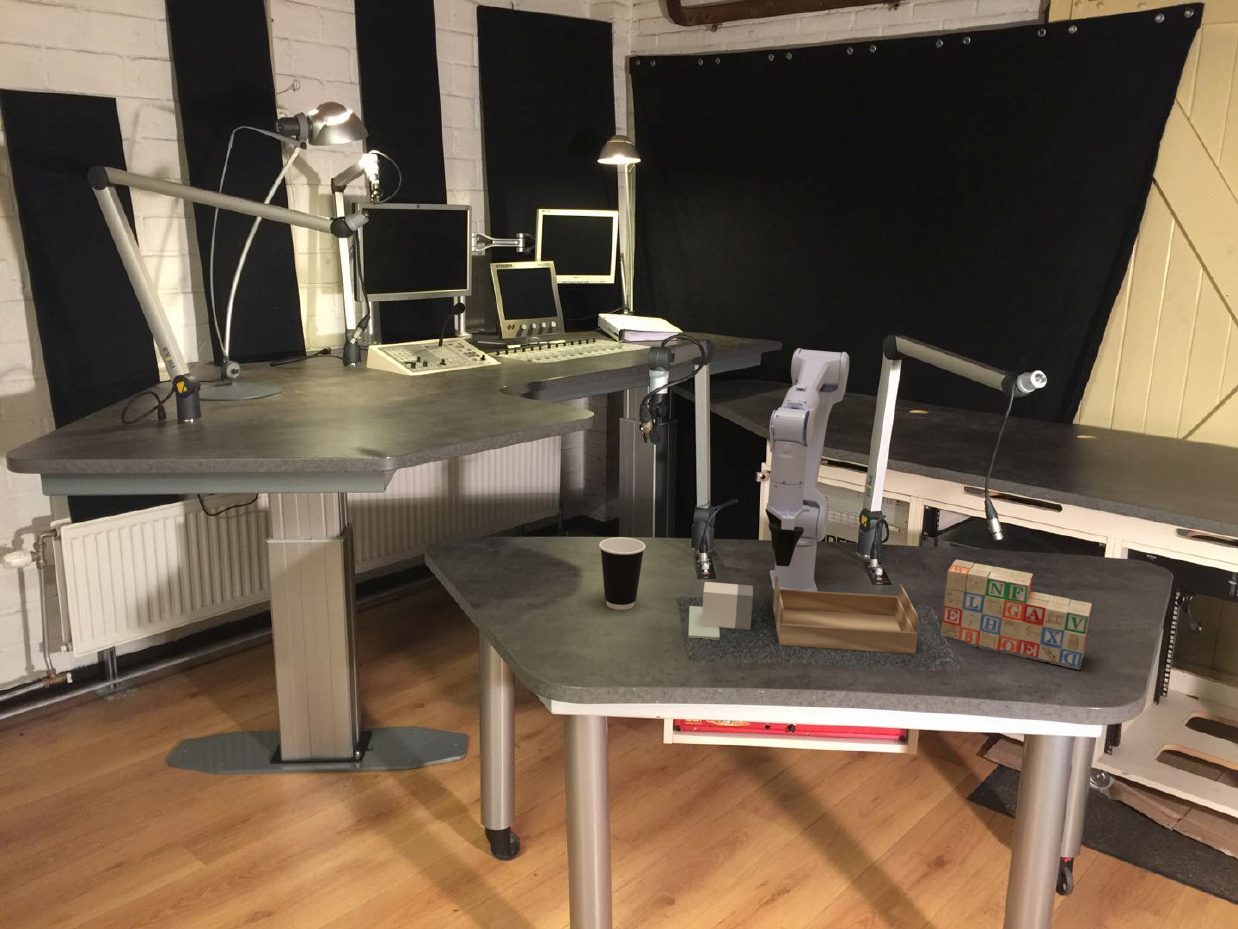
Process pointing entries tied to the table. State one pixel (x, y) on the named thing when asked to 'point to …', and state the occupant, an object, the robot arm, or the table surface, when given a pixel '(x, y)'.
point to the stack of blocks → (1012, 614)
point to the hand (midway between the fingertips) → (780, 557)
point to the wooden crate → (845, 620)
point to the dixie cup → (621, 570)
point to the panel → (700, 626)
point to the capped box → (727, 605)
